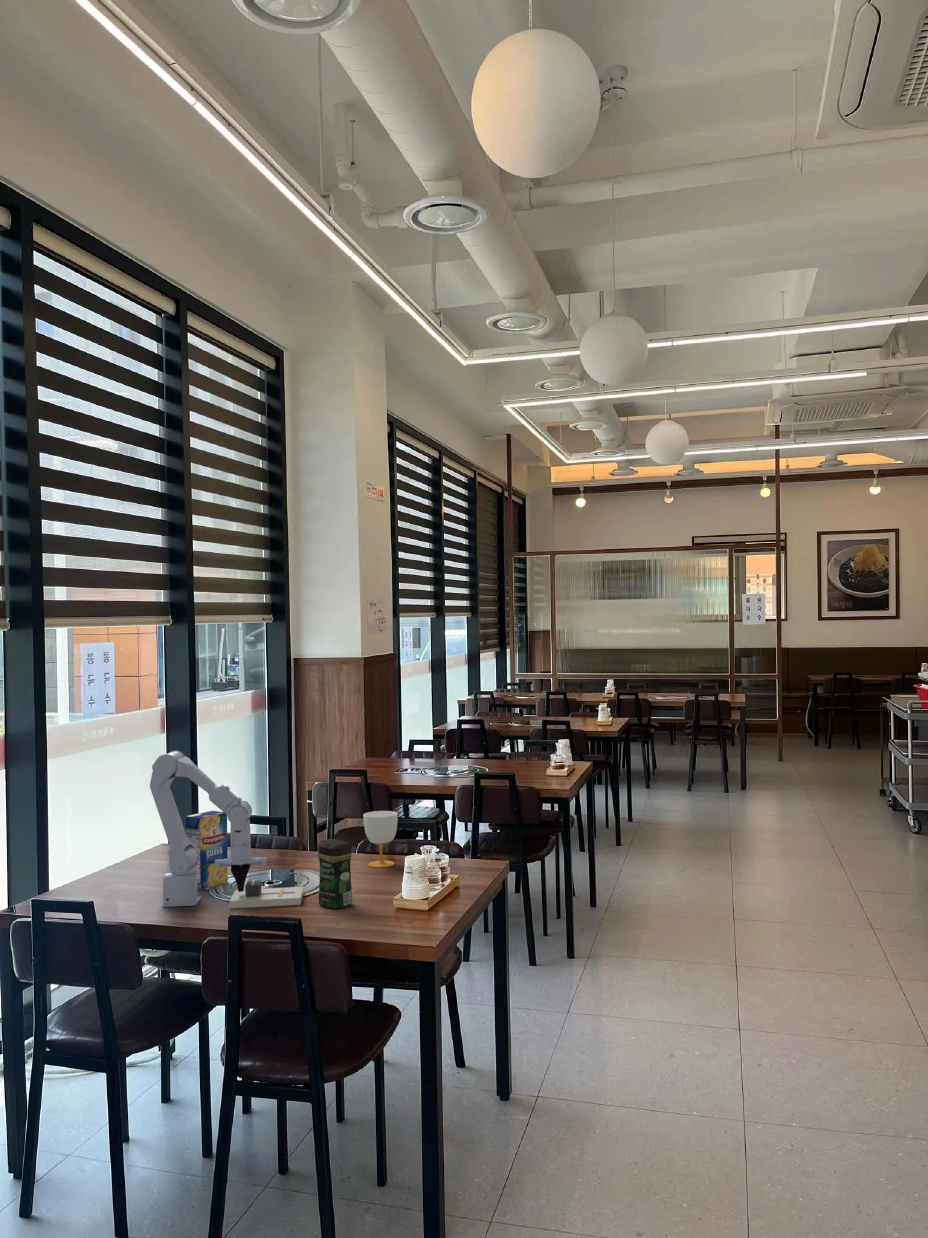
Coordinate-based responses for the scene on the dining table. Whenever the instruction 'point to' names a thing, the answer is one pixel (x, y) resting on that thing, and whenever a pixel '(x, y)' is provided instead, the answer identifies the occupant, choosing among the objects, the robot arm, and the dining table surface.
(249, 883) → the block
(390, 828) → the cup
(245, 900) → the control panel
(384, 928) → the dining table surface
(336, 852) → the coffee jar
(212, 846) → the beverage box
